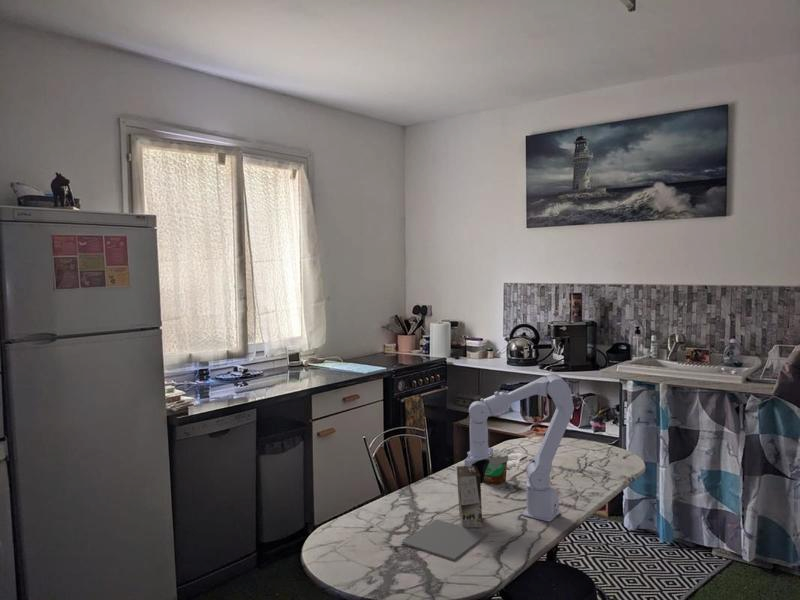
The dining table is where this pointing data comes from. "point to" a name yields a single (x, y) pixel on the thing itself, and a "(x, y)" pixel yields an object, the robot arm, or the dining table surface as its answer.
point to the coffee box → (469, 496)
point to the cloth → (514, 456)
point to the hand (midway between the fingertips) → (479, 482)
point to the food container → (496, 470)
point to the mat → (445, 539)
